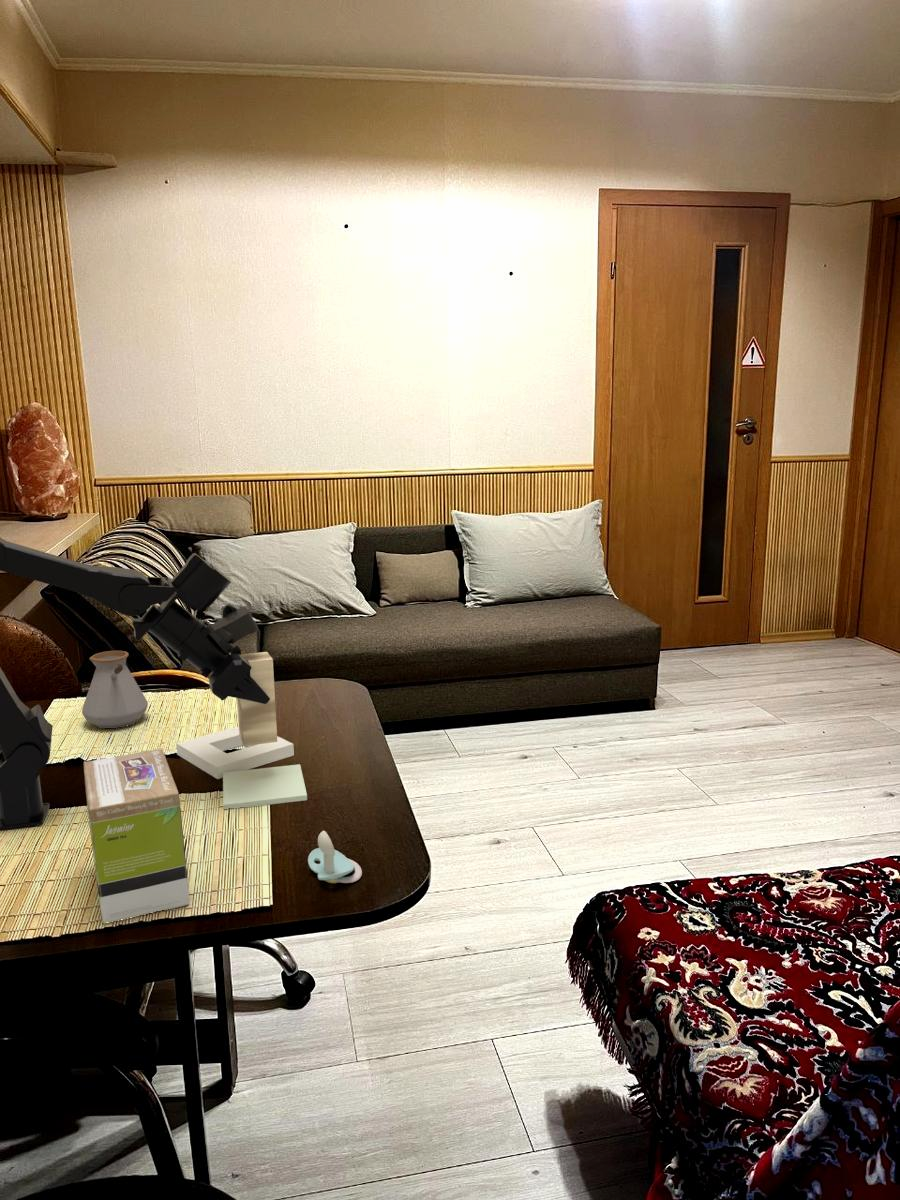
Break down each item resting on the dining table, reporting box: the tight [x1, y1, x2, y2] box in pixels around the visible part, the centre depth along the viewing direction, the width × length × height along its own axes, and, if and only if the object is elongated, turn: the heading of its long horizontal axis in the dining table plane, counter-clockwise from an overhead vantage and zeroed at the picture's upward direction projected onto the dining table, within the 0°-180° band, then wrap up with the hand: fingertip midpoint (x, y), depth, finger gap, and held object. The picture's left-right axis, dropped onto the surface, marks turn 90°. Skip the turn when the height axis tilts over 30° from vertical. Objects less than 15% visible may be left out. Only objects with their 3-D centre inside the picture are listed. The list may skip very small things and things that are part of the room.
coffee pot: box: [81, 650, 149, 729], centre depth 164 cm, size 21×12×15 cm, turn 27°
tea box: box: [83, 748, 191, 924], centre depth 110 cm, size 15×10×15 cm, turn 24°
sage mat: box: [222, 763, 308, 810], centre depth 139 cm, size 12×12×1 cm
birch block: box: [236, 651, 278, 747], centre depth 140 cm, size 5×5×13 cm
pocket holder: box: [175, 725, 295, 780], centre depth 153 cm, size 14×14×2 cm
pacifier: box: [307, 830, 363, 884], centre depth 113 cm, size 7×6×6 cm
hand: (264, 696), depth 140 cm, fingers closed on birch block, 5 cm apart
